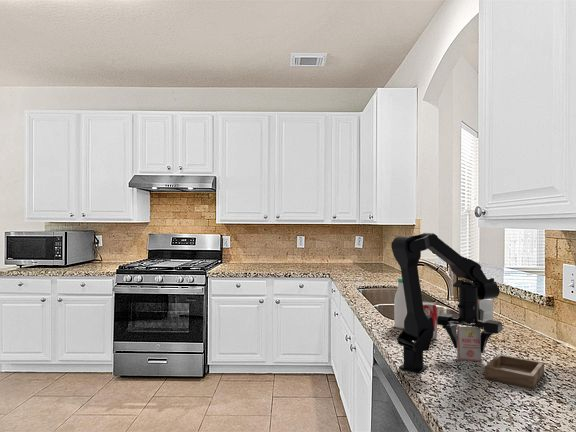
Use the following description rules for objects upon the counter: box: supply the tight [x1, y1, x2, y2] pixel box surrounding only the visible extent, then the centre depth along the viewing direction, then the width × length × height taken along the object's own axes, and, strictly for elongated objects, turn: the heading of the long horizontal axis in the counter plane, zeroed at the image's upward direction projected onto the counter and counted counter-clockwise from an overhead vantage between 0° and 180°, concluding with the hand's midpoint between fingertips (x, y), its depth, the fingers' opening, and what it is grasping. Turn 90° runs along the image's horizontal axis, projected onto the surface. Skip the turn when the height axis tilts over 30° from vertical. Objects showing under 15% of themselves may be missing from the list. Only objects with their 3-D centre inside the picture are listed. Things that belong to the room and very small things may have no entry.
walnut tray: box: [483, 353, 545, 391], centre depth 122 cm, size 14×12×4 cm
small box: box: [478, 299, 494, 322], centre depth 185 cm, size 8×6×10 cm
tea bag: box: [456, 325, 482, 362], centre depth 138 cm, size 4×7×10 cm, turn 75°
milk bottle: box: [393, 277, 407, 330], centre depth 179 cm, size 8×8×20 cm
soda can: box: [423, 301, 438, 341], centre depth 162 cm, size 7×7×13 cm
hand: (468, 350), depth 138 cm, fingers closed on tea bag, 8 cm apart
